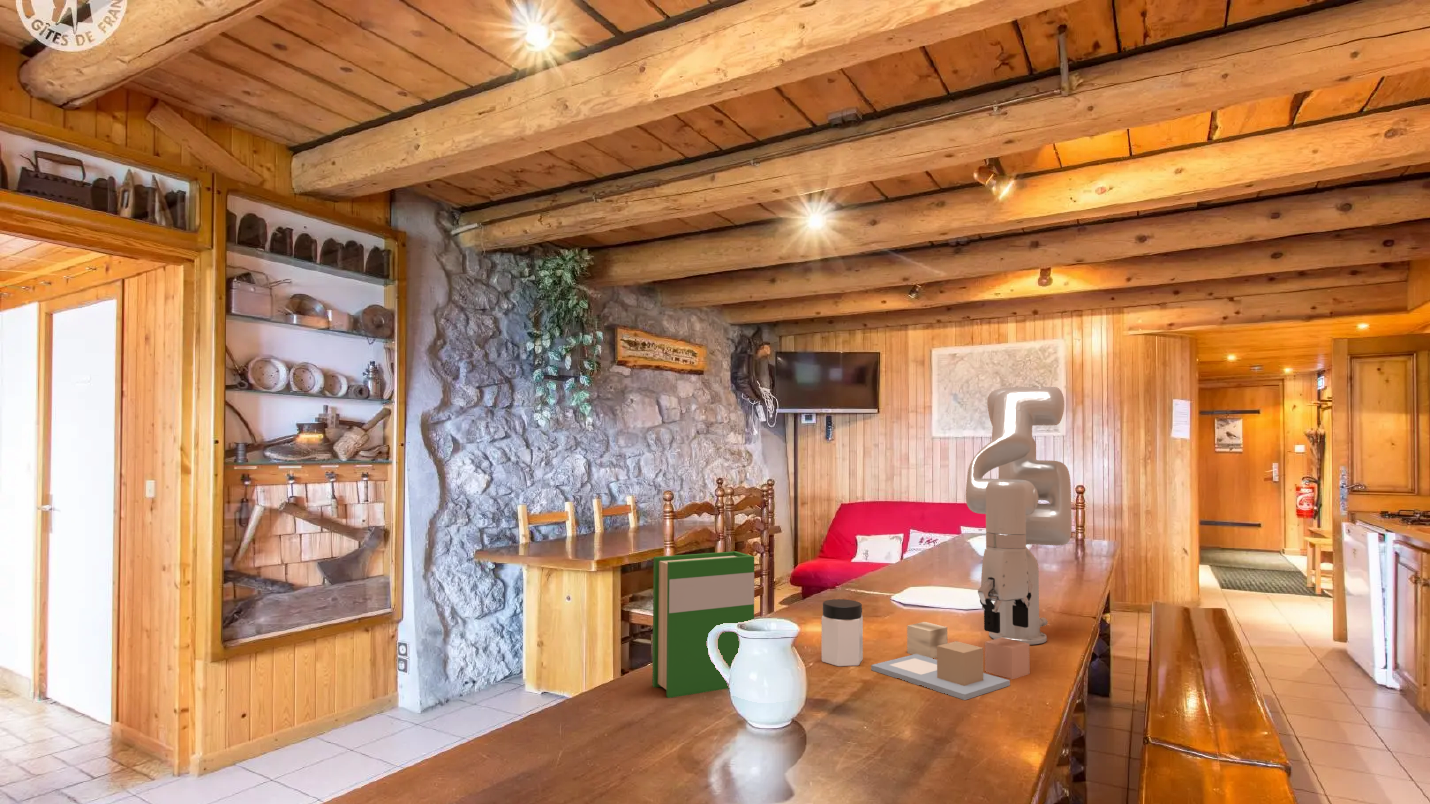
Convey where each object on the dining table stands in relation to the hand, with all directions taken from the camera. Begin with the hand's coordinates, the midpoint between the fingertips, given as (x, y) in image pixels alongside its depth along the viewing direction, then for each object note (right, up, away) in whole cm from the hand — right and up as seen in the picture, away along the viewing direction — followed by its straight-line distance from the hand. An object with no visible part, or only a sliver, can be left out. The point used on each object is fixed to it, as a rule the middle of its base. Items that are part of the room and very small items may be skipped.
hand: (1006, 629), depth 154 cm
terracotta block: (0, -9, 0) cm, 9 cm away
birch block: (-12, -10, +14) cm, 21 cm away
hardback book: (-60, -8, -9) cm, 62 cm away
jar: (-31, -9, +8) cm, 34 cm away
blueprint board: (-14, -9, -3) cm, 17 cm away
